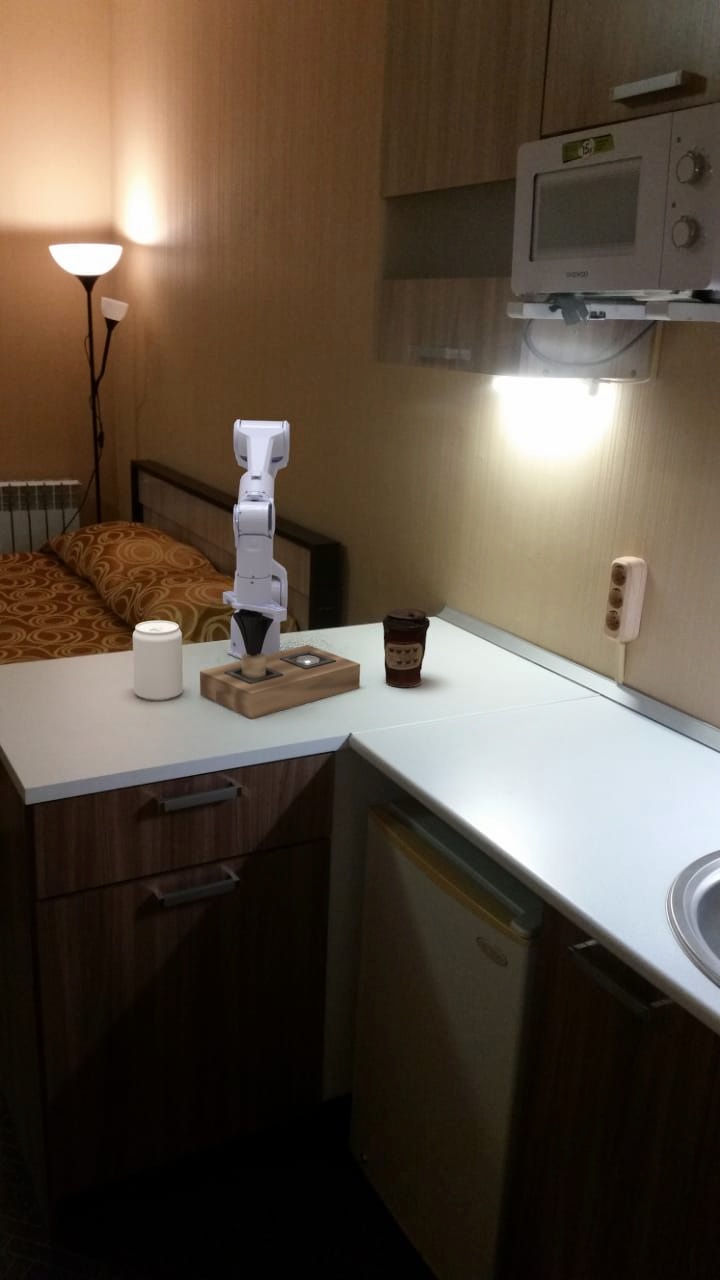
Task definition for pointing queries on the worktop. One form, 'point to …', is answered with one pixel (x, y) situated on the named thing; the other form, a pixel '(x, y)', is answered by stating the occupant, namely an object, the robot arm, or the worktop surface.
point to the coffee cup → (404, 646)
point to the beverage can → (157, 660)
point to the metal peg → (307, 660)
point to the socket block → (280, 682)
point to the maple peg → (253, 666)
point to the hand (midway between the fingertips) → (253, 653)
